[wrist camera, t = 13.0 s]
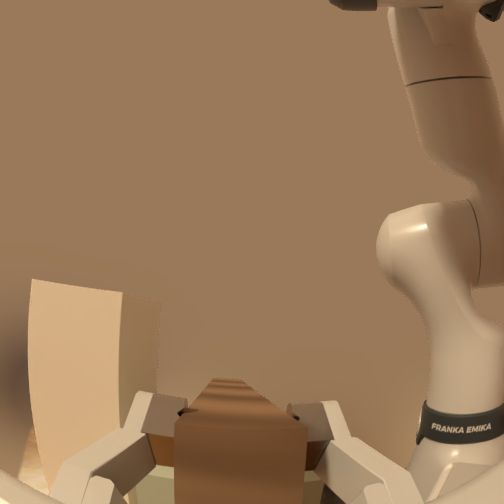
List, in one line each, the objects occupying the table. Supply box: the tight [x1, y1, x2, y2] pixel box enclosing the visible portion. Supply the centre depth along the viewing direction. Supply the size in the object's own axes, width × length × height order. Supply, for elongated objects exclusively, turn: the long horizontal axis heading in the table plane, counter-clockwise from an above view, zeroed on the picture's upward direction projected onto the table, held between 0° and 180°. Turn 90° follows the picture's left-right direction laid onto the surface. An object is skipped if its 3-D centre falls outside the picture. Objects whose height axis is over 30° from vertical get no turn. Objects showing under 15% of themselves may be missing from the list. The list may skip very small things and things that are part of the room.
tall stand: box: [28, 279, 161, 504], centre depth 24 cm, size 14×10×26 cm
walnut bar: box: [174, 378, 308, 504], centre depth 17 cm, size 26×3×3 cm, turn 5°
